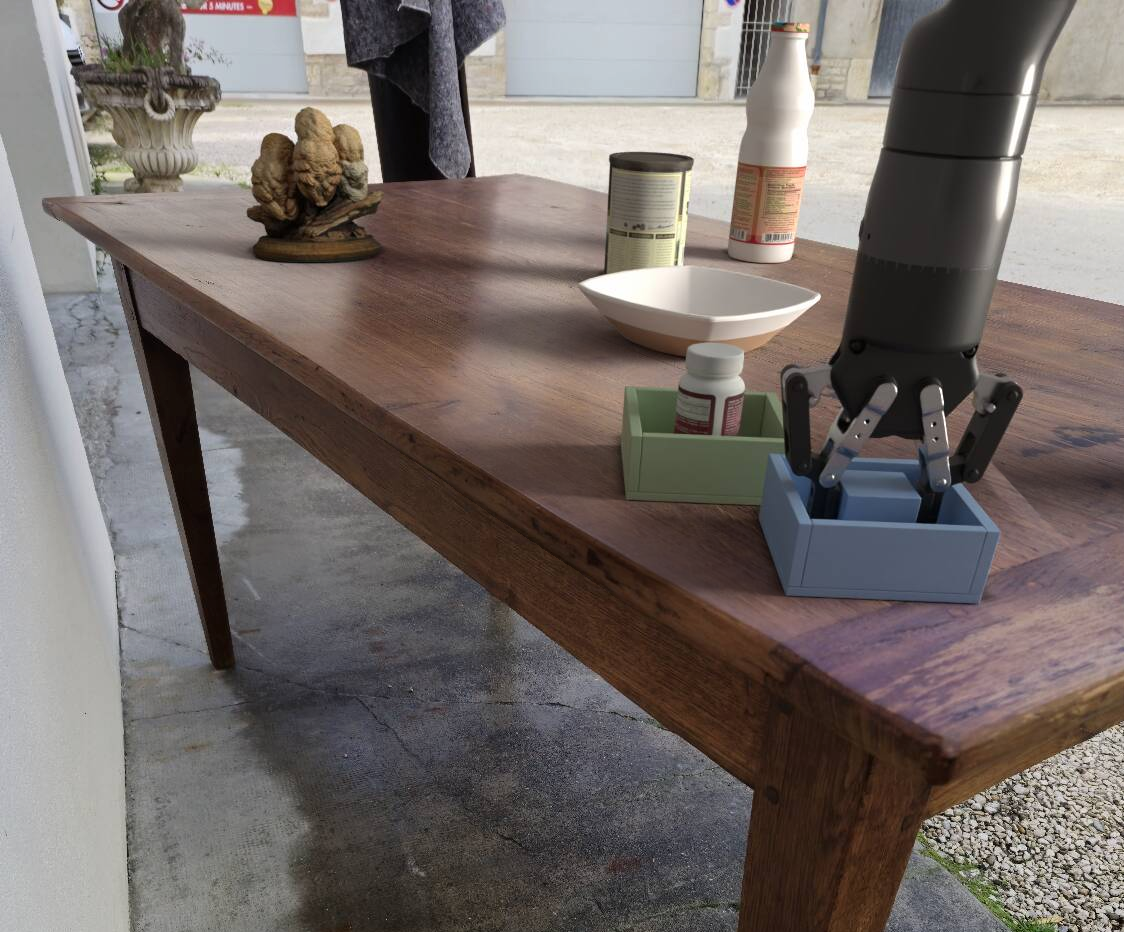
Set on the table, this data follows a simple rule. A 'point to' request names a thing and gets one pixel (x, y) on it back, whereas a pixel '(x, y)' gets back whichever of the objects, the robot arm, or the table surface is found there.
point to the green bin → (696, 451)
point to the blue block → (876, 497)
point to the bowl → (696, 306)
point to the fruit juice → (773, 152)
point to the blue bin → (876, 543)
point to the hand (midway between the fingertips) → (866, 539)
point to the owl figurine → (313, 194)
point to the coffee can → (646, 210)
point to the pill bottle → (711, 391)
